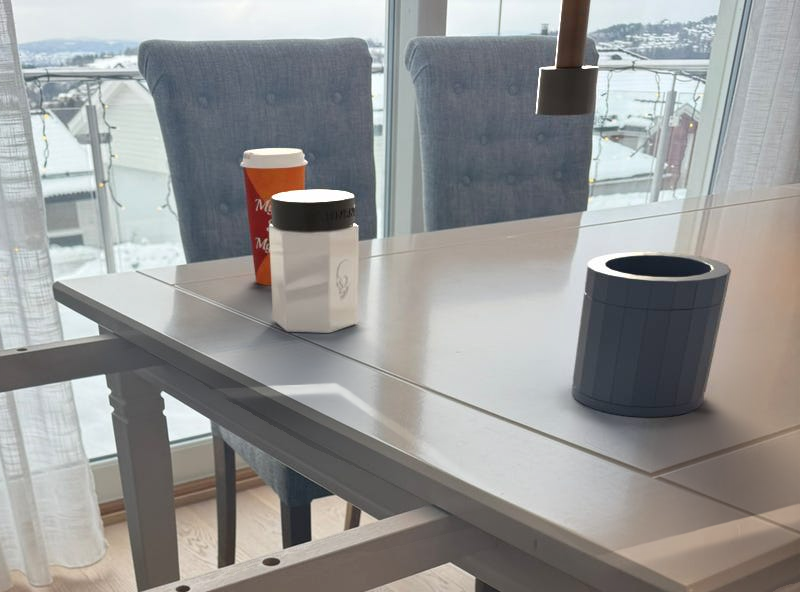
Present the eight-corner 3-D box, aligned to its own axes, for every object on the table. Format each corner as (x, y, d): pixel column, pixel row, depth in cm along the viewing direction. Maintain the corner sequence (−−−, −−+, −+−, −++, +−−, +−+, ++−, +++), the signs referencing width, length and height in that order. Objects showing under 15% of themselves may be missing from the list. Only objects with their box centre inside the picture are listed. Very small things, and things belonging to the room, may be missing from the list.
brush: (570, 110, 86) (592, -104, 77) (605, 113, 82) (632, -112, 74) (524, 113, 84) (542, -105, 76) (557, 116, 80) (580, -113, 72)
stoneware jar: (643, 369, 81) (664, 247, 76) (730, 404, 73) (761, 271, 68) (546, 387, 78) (561, 260, 72) (626, 425, 70) (649, 287, 64)
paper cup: (260, 290, 109) (253, 156, 101) (238, 277, 115) (230, 150, 107) (321, 283, 111) (319, 151, 104) (296, 271, 117) (292, 145, 109)
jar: (317, 339, 91) (314, 205, 85) (257, 325, 96) (250, 198, 89) (373, 319, 97) (374, 193, 90) (314, 308, 101) (311, 186, 95)
